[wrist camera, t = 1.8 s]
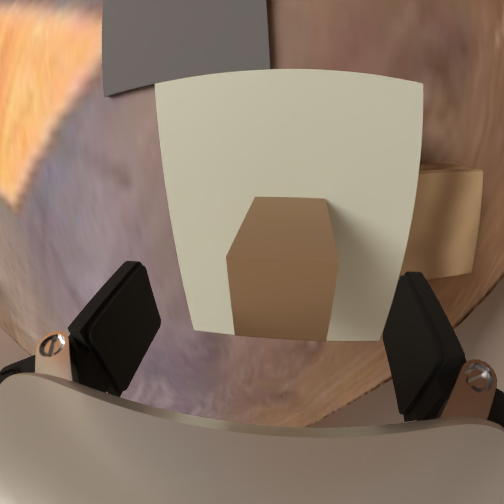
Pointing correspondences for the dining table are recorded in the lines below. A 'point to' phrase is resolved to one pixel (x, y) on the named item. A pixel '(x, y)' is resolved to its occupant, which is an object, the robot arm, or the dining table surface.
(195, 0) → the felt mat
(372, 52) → the dining table surface
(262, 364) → the dining table surface
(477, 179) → the box
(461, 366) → the robot arm
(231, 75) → the cover
